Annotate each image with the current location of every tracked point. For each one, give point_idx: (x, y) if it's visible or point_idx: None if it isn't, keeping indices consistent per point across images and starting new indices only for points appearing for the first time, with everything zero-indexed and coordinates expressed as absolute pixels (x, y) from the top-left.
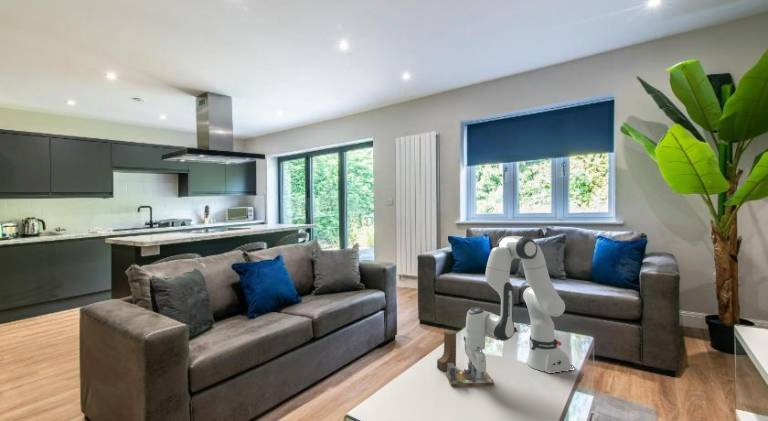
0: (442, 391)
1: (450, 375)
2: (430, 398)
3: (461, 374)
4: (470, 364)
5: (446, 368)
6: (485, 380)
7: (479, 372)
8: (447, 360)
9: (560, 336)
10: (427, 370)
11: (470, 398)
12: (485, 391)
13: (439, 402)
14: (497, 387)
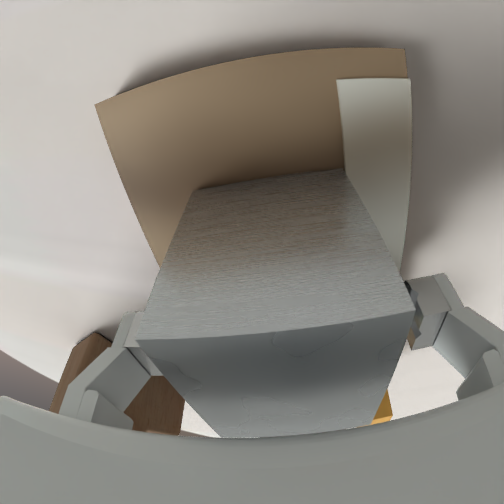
0: (395, 386)
1: None
2: (425, 400)
3: (390, 412)
4: (286, 432)
5: (163, 386)
6: (371, 157)
7: (484, 345)
8: (145, 428)
9: None
10: (197, 416)
11: (496, 291)
12: (473, 181)
13: (458, 380)
14: (420, 28)
